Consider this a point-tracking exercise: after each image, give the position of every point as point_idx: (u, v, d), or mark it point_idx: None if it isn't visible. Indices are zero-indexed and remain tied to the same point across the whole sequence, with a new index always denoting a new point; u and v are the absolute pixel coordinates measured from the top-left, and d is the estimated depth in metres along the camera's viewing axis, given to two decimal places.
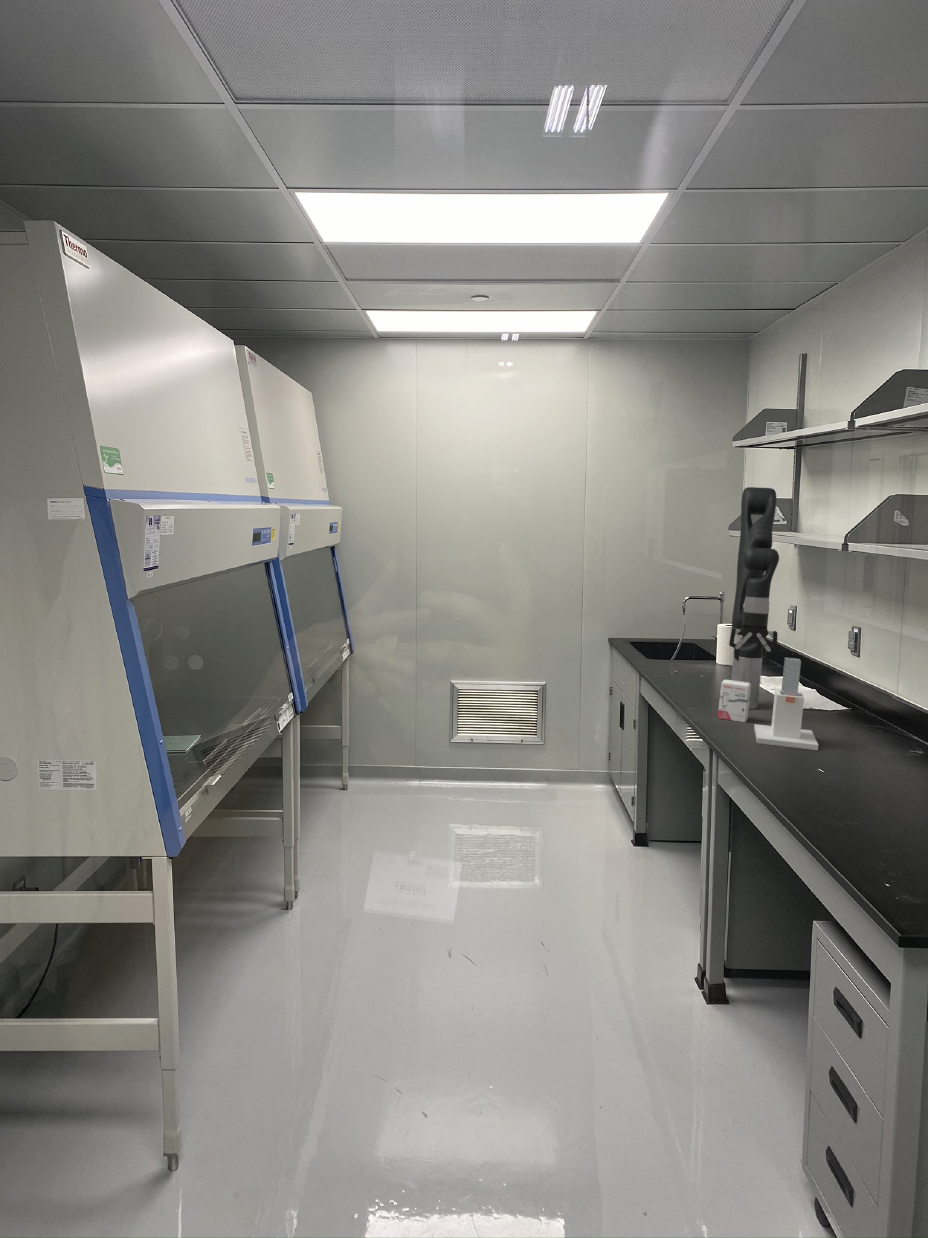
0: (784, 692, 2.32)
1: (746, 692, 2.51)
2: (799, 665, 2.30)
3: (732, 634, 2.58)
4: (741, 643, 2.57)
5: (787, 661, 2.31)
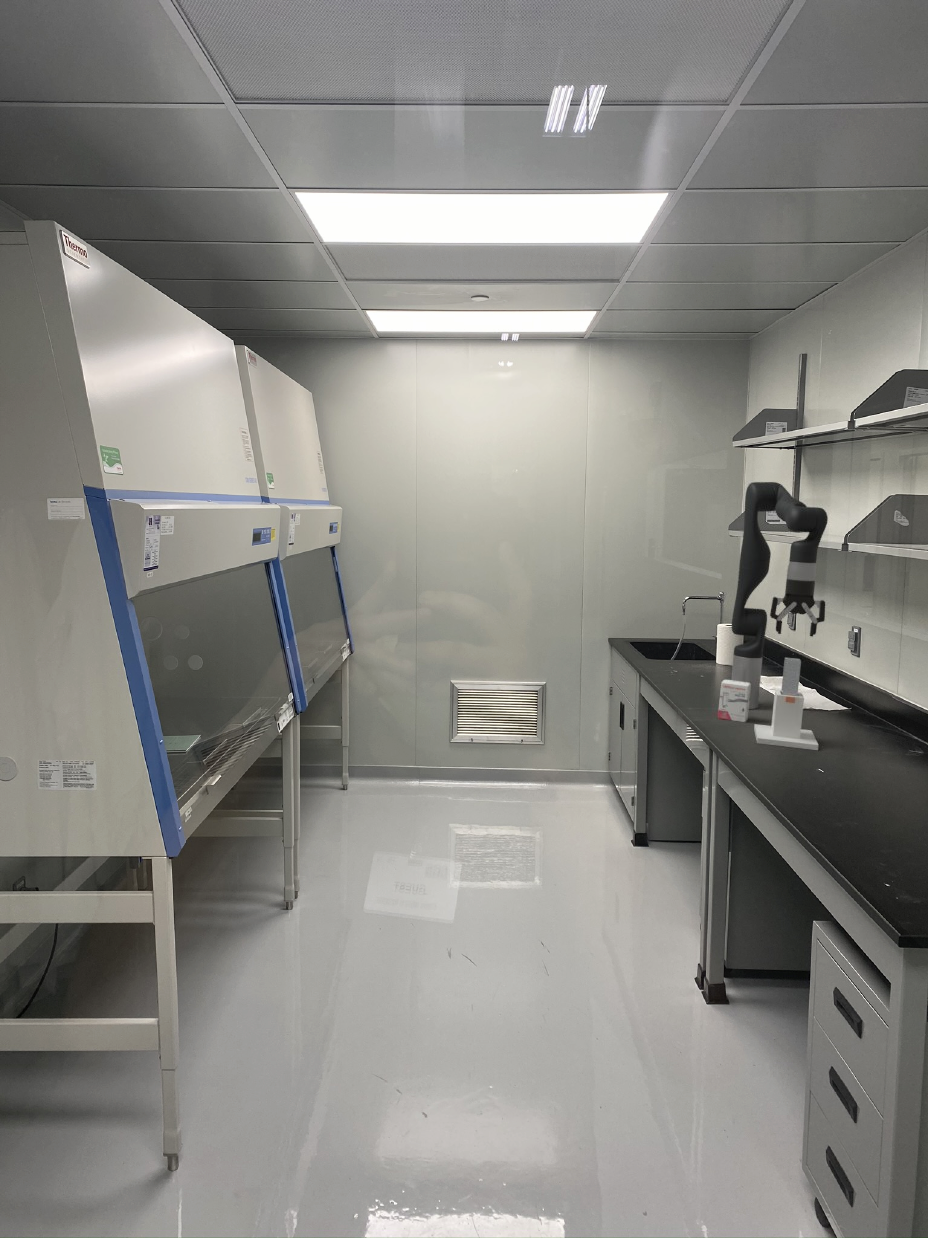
0: (784, 692, 2.32)
1: (746, 692, 2.51)
2: (799, 665, 2.30)
3: (774, 604, 2.31)
4: (784, 614, 2.30)
5: (787, 661, 2.31)
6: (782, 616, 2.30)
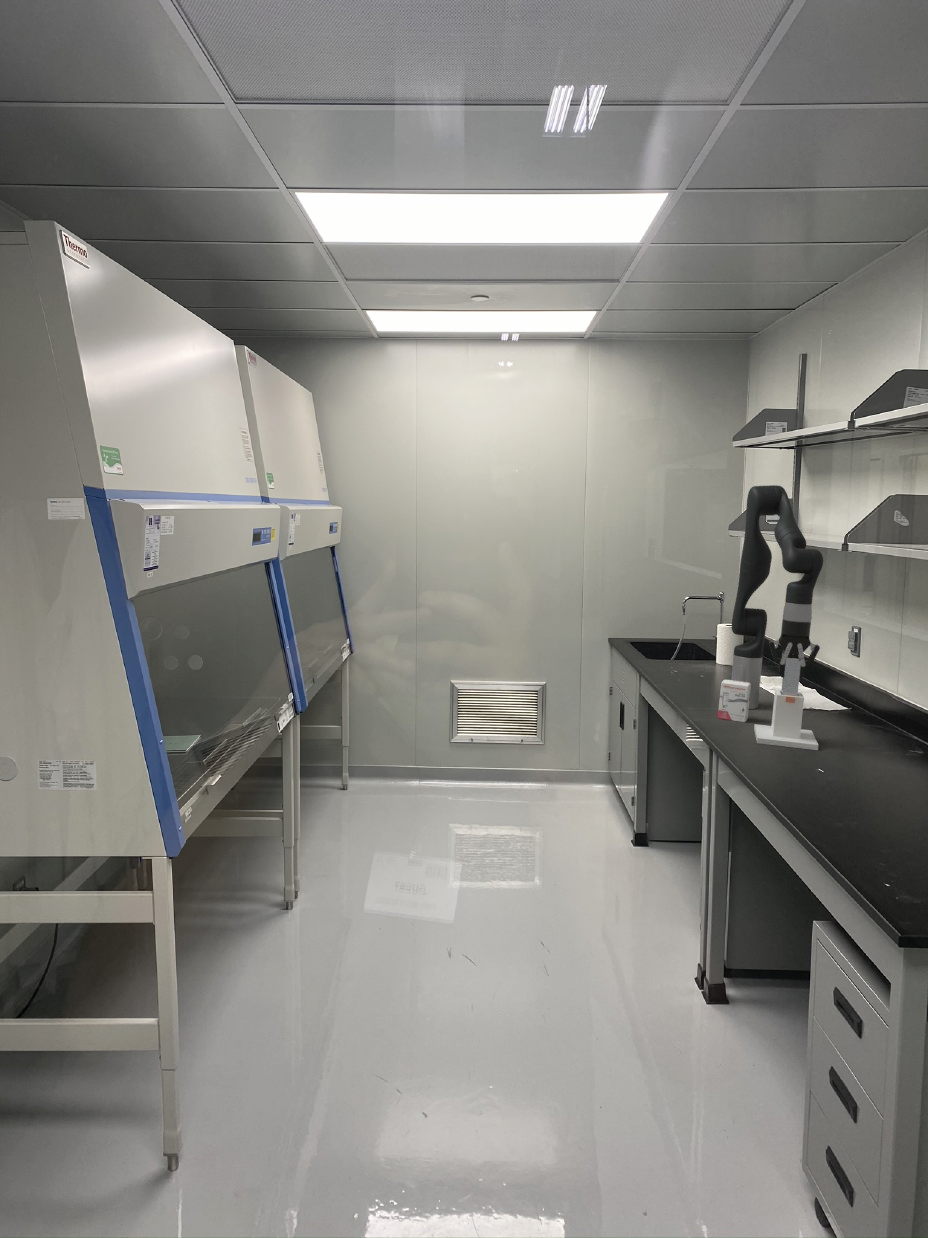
0: (784, 692, 2.32)
1: (746, 692, 2.51)
2: (799, 665, 2.30)
3: (772, 649, 2.32)
4: (785, 657, 2.31)
5: (787, 661, 2.31)
6: (784, 659, 2.32)
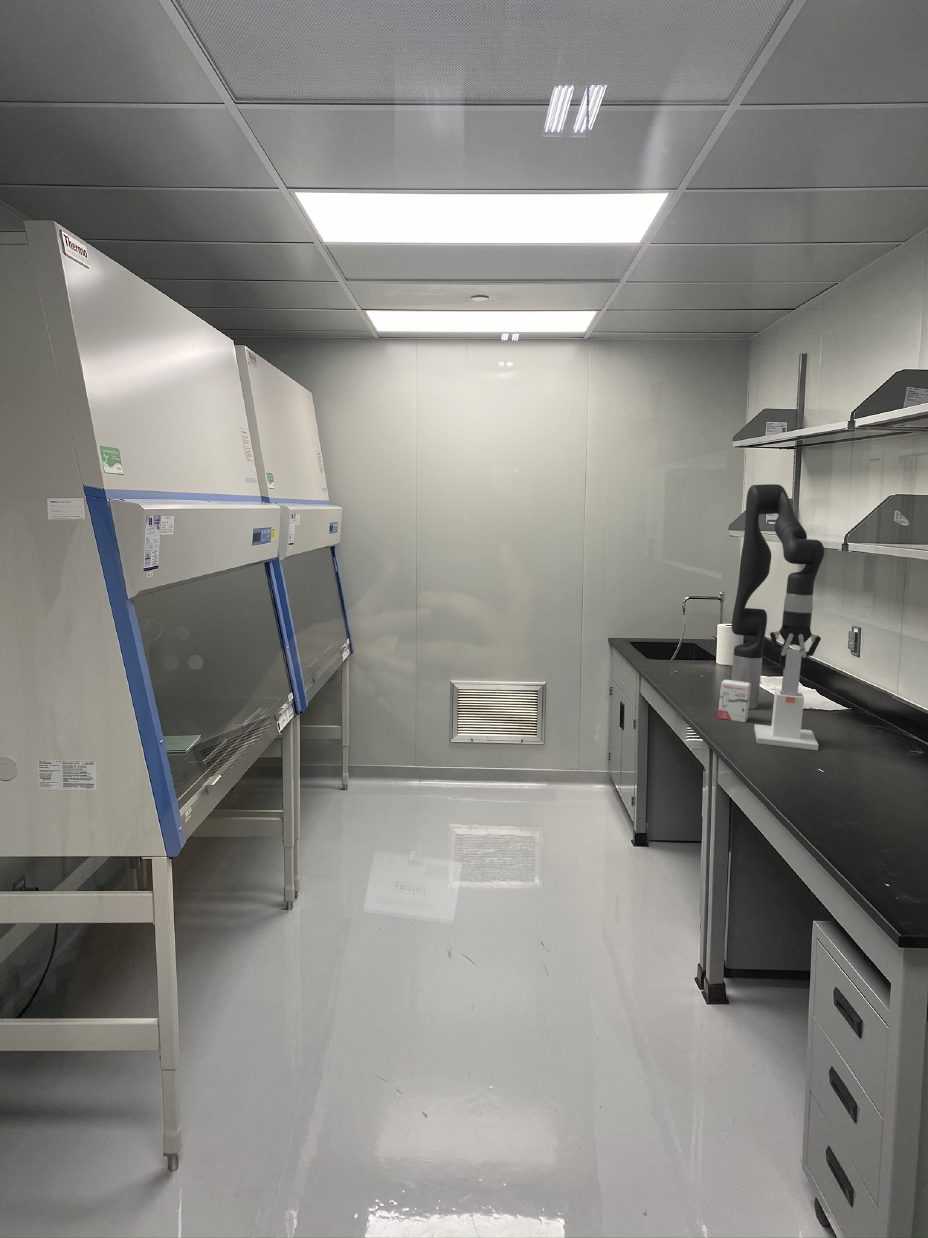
0: (785, 683, 2.32)
1: (746, 692, 2.51)
2: (800, 656, 2.29)
3: (773, 640, 2.32)
4: (786, 648, 2.31)
5: (788, 652, 2.30)
6: (785, 650, 2.31)
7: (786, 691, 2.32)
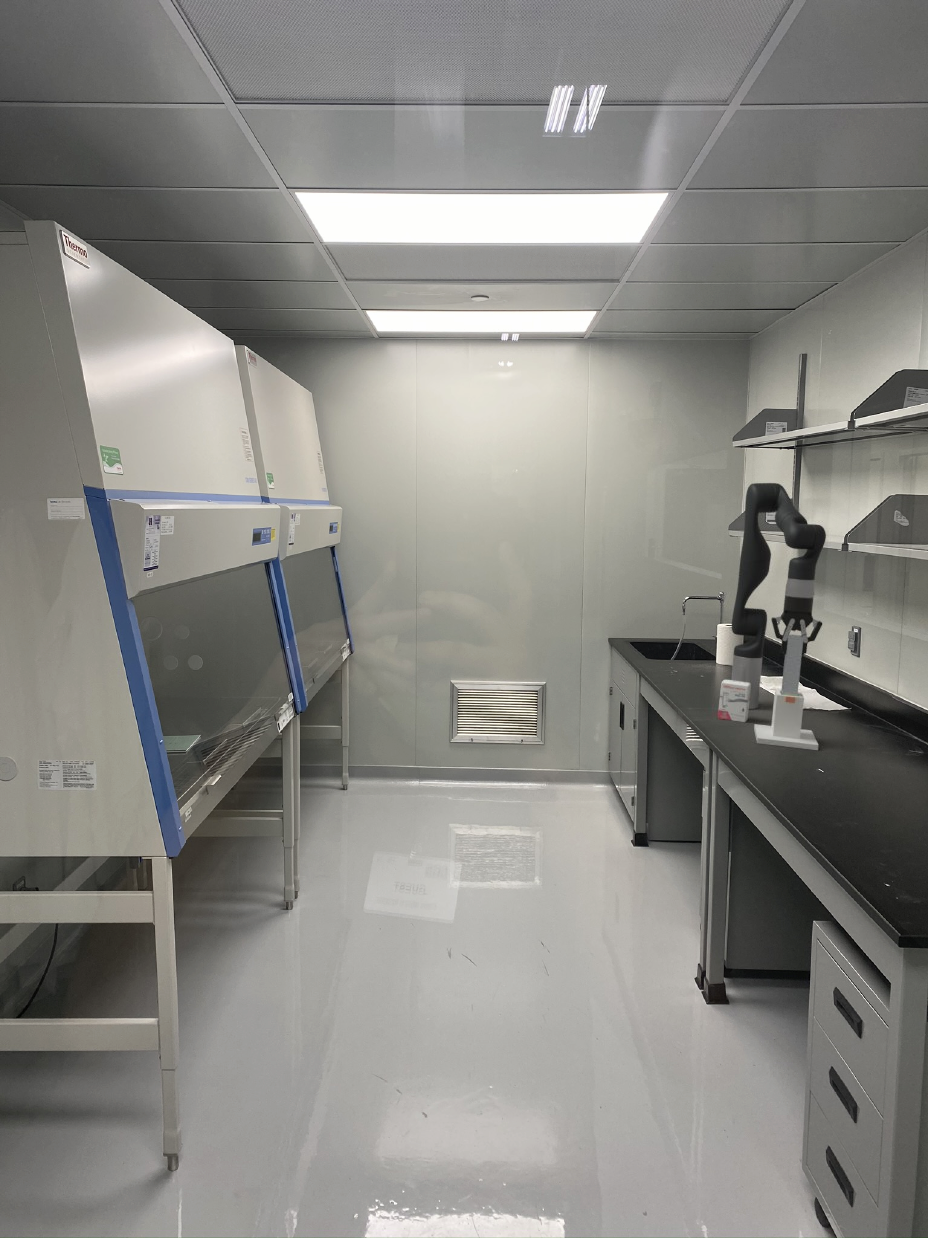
0: (786, 669, 2.31)
1: (746, 692, 2.51)
2: (801, 641, 2.29)
3: (774, 625, 2.31)
4: (787, 633, 2.30)
5: (789, 637, 2.30)
6: (786, 636, 2.31)
7: (787, 677, 2.31)
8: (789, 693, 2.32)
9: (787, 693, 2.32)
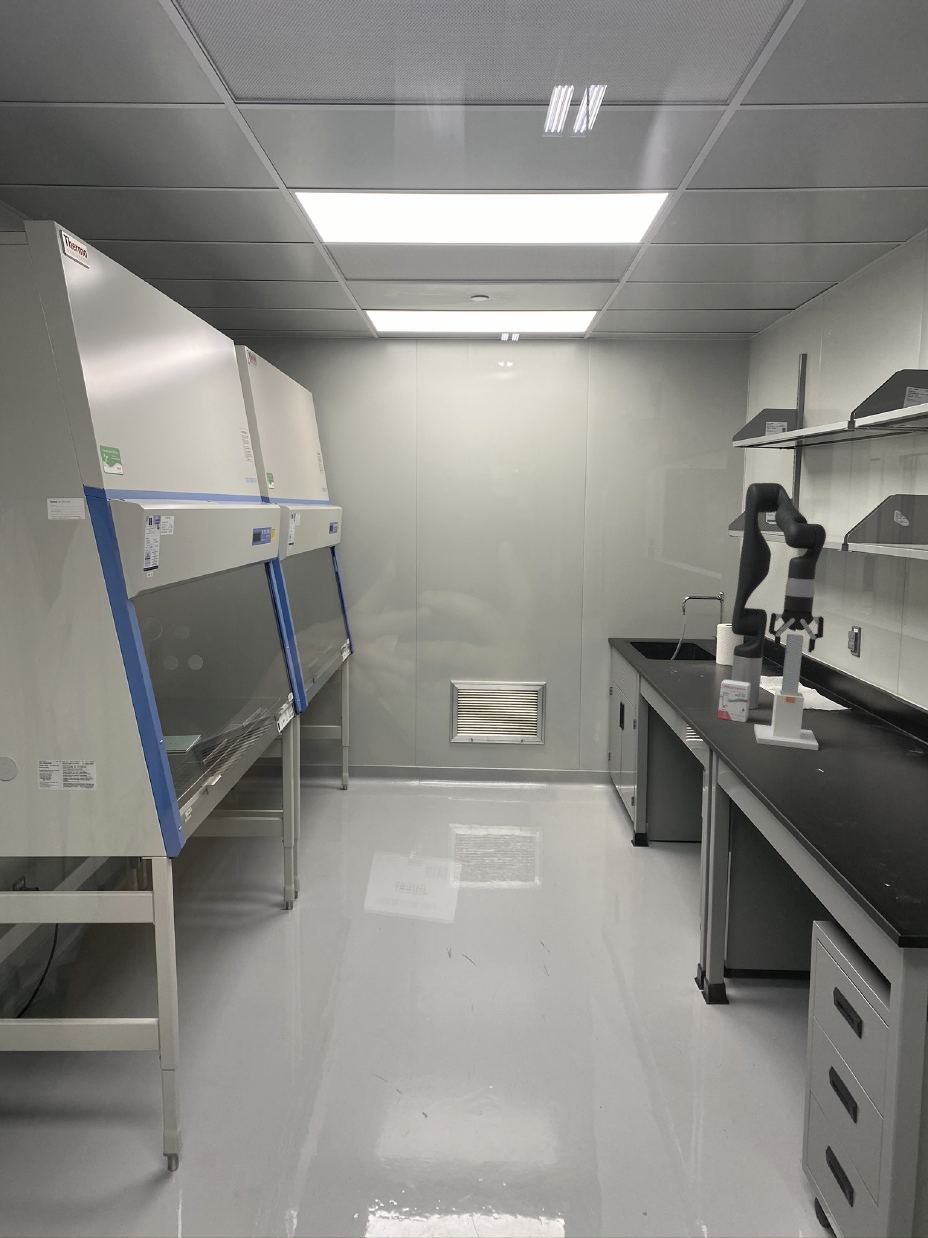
0: (786, 668, 2.31)
1: (746, 692, 2.51)
2: (801, 641, 2.29)
3: (772, 620, 2.31)
4: (782, 630, 2.31)
5: (789, 637, 2.30)
6: (781, 632, 2.31)
7: (787, 676, 2.31)
8: (789, 693, 2.31)
9: (787, 693, 2.32)
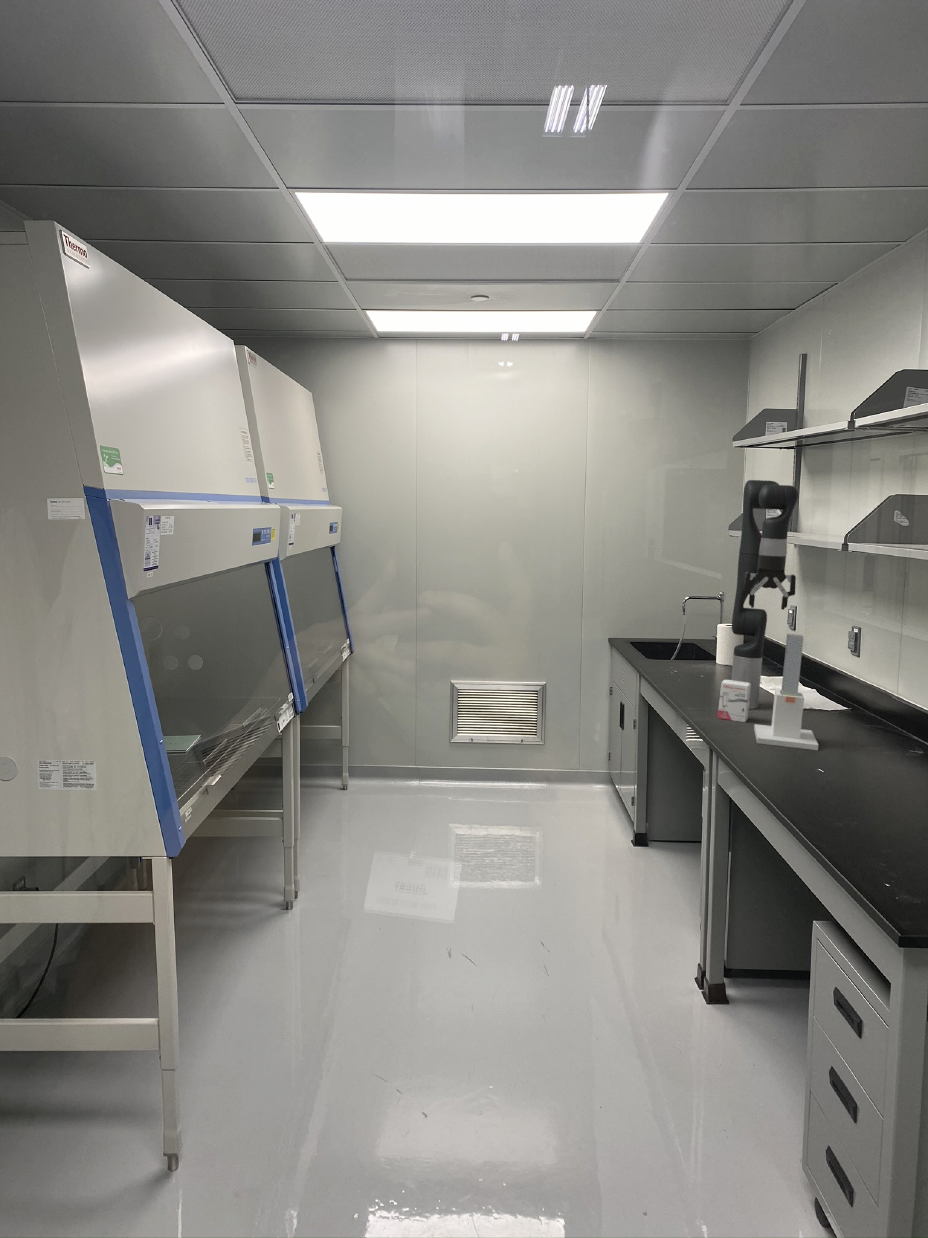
0: (786, 668, 2.31)
1: (746, 692, 2.51)
2: (801, 641, 2.29)
3: (747, 579, 2.40)
4: (756, 588, 2.40)
5: (789, 637, 2.30)
6: (755, 590, 2.40)
7: (787, 676, 2.31)
8: (789, 693, 2.31)
9: (787, 693, 2.32)
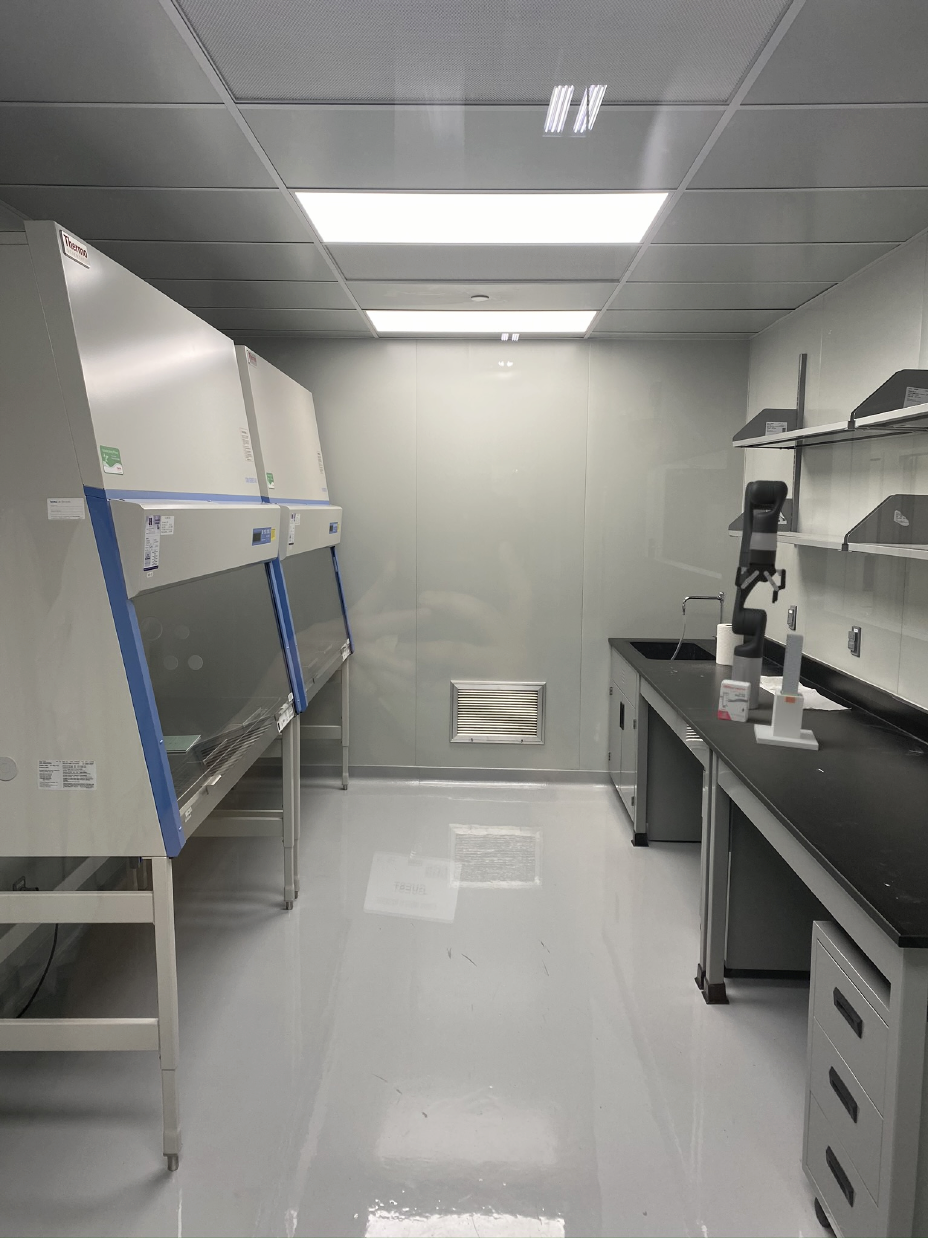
0: (786, 668, 2.31)
1: (746, 692, 2.51)
2: (801, 641, 2.29)
3: (738, 573, 2.44)
4: (747, 582, 2.43)
5: (789, 637, 2.30)
6: (746, 584, 2.43)
7: (787, 676, 2.31)
8: (789, 693, 2.31)
9: (787, 693, 2.32)
